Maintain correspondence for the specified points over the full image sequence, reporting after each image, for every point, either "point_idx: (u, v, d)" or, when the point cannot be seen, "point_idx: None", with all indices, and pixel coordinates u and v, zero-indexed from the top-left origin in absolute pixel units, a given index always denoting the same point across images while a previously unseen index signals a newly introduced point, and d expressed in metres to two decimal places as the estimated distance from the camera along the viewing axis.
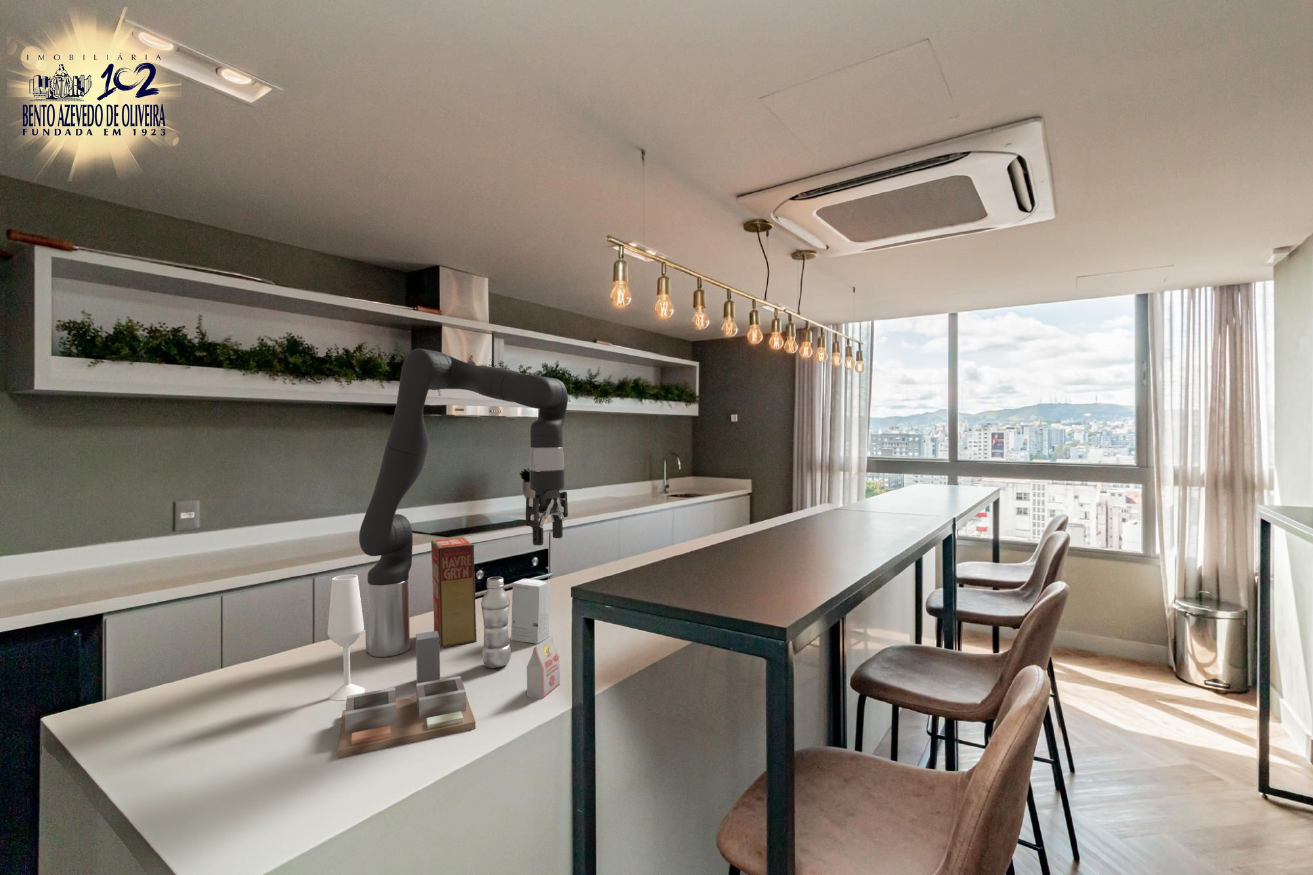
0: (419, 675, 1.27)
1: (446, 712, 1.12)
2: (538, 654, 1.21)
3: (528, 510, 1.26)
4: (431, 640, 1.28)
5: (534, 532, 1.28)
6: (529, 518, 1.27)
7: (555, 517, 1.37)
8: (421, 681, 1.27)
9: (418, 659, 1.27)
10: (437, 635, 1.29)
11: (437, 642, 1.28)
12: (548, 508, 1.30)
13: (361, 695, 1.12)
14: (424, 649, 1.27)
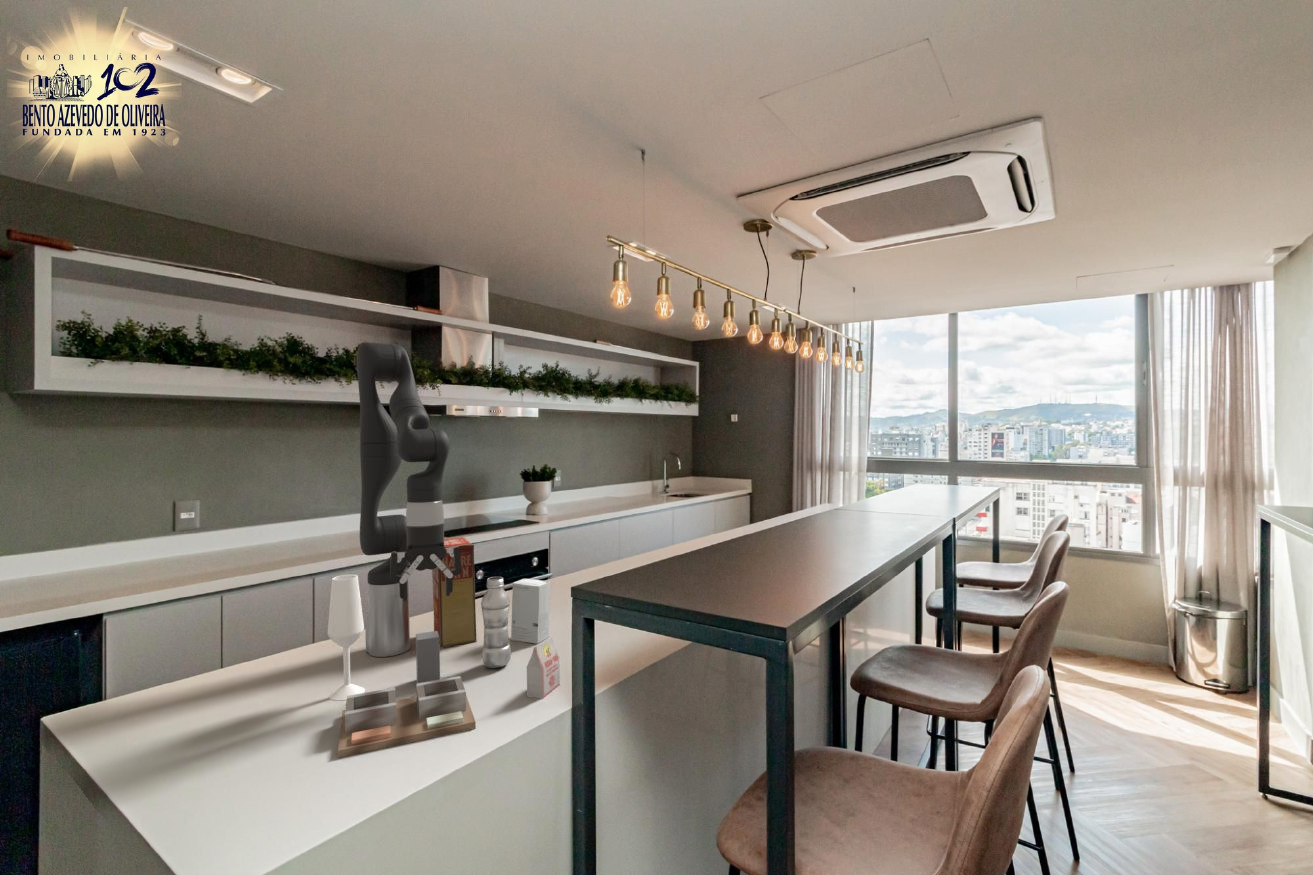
0: (419, 675, 1.27)
1: (446, 712, 1.12)
2: (538, 654, 1.21)
3: None
4: (431, 640, 1.28)
5: None
6: None
7: None
8: (421, 681, 1.27)
9: (418, 659, 1.27)
10: (437, 635, 1.29)
11: (437, 643, 1.28)
12: None
13: (361, 695, 1.12)
14: (424, 649, 1.27)
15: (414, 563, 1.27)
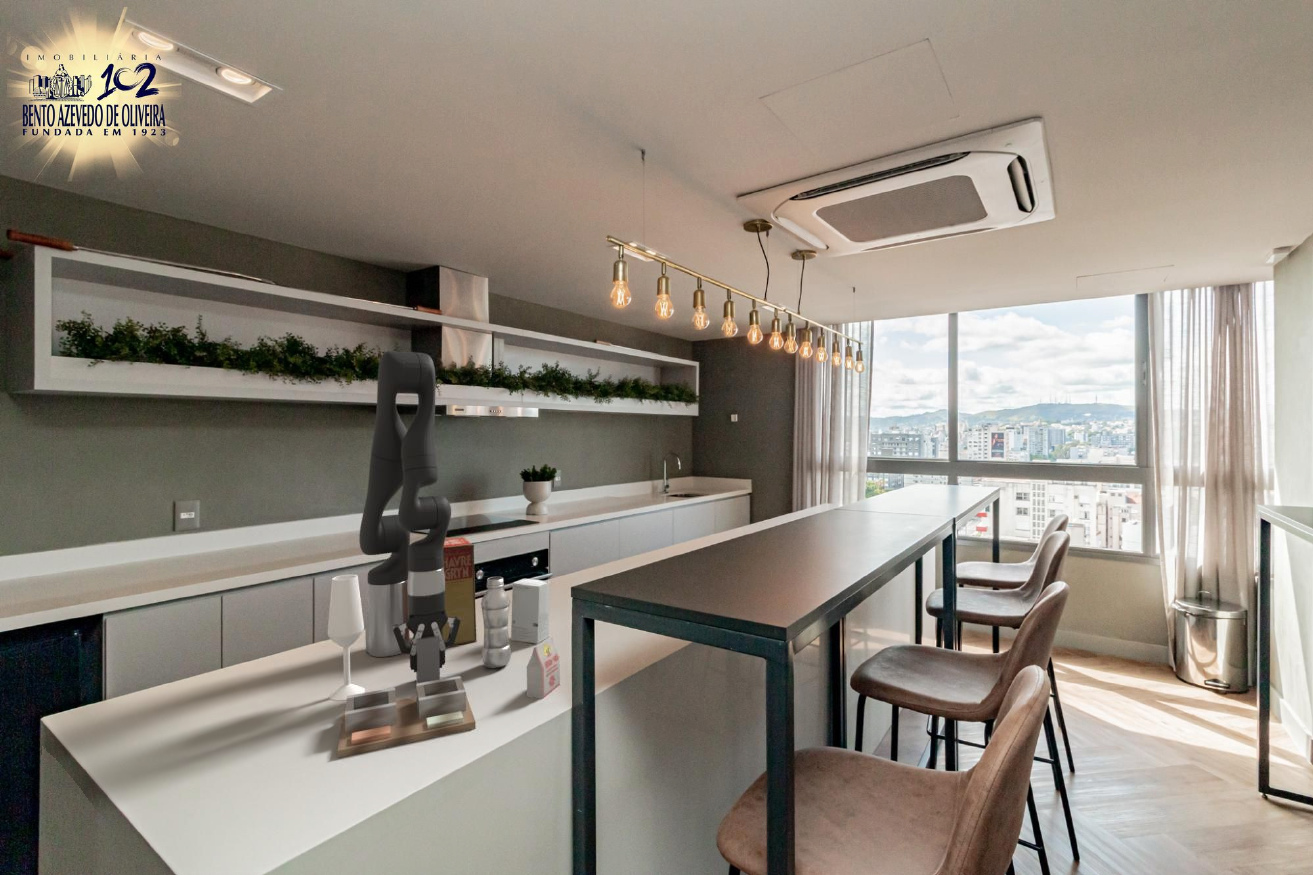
0: (419, 675, 1.27)
1: (446, 712, 1.12)
2: (538, 654, 1.21)
3: None
4: (431, 640, 1.28)
5: None
6: None
7: None
8: (421, 681, 1.27)
9: (418, 659, 1.27)
10: None
11: (437, 642, 1.28)
12: None
13: (361, 695, 1.12)
14: (424, 649, 1.27)
15: (418, 633, 1.27)
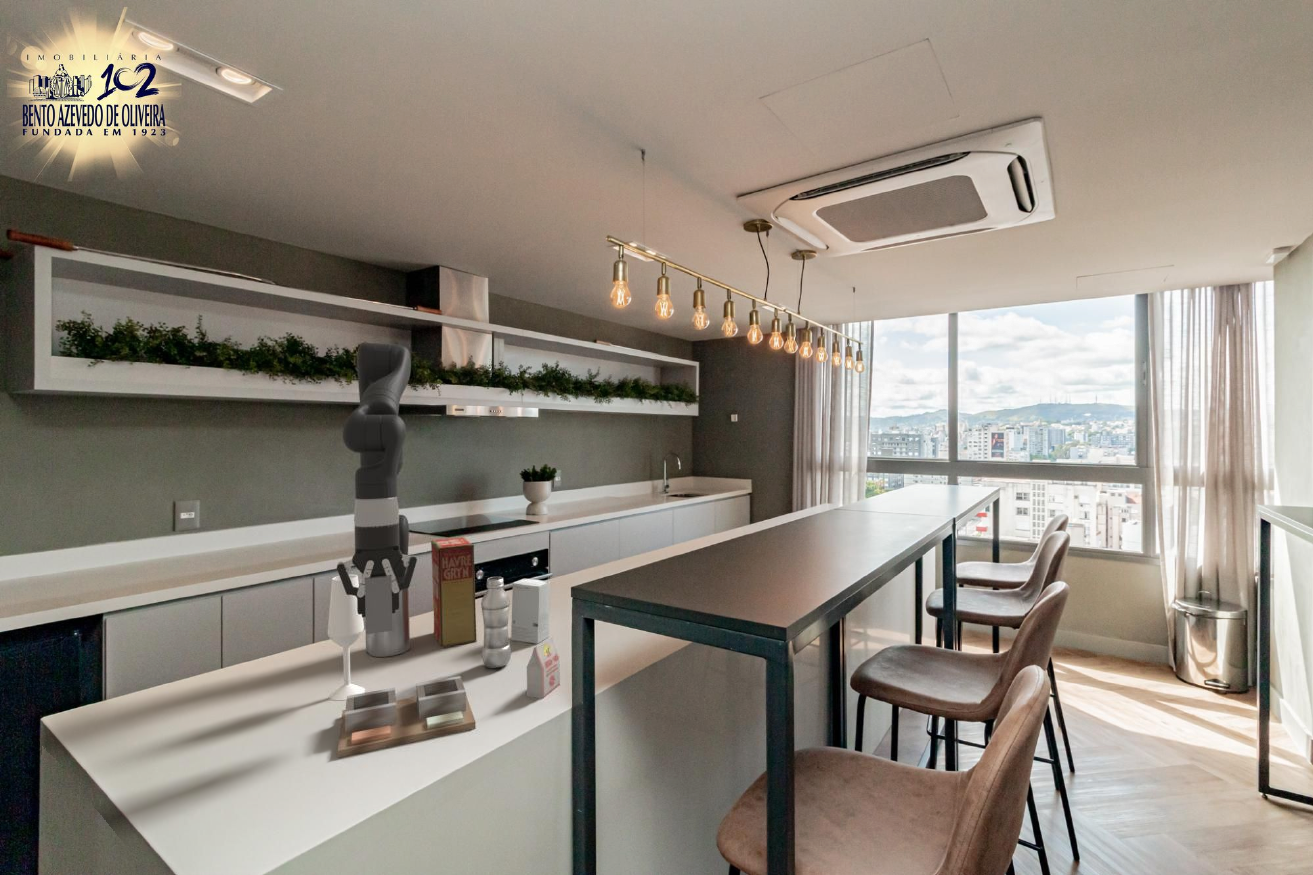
0: (367, 620, 1.09)
1: (446, 712, 1.12)
2: (538, 654, 1.21)
3: None
4: (381, 579, 1.10)
5: None
6: None
7: None
8: (370, 627, 1.09)
9: (366, 601, 1.09)
10: None
11: (389, 583, 1.11)
12: None
13: (361, 695, 1.12)
14: (373, 590, 1.09)
15: (366, 571, 1.09)
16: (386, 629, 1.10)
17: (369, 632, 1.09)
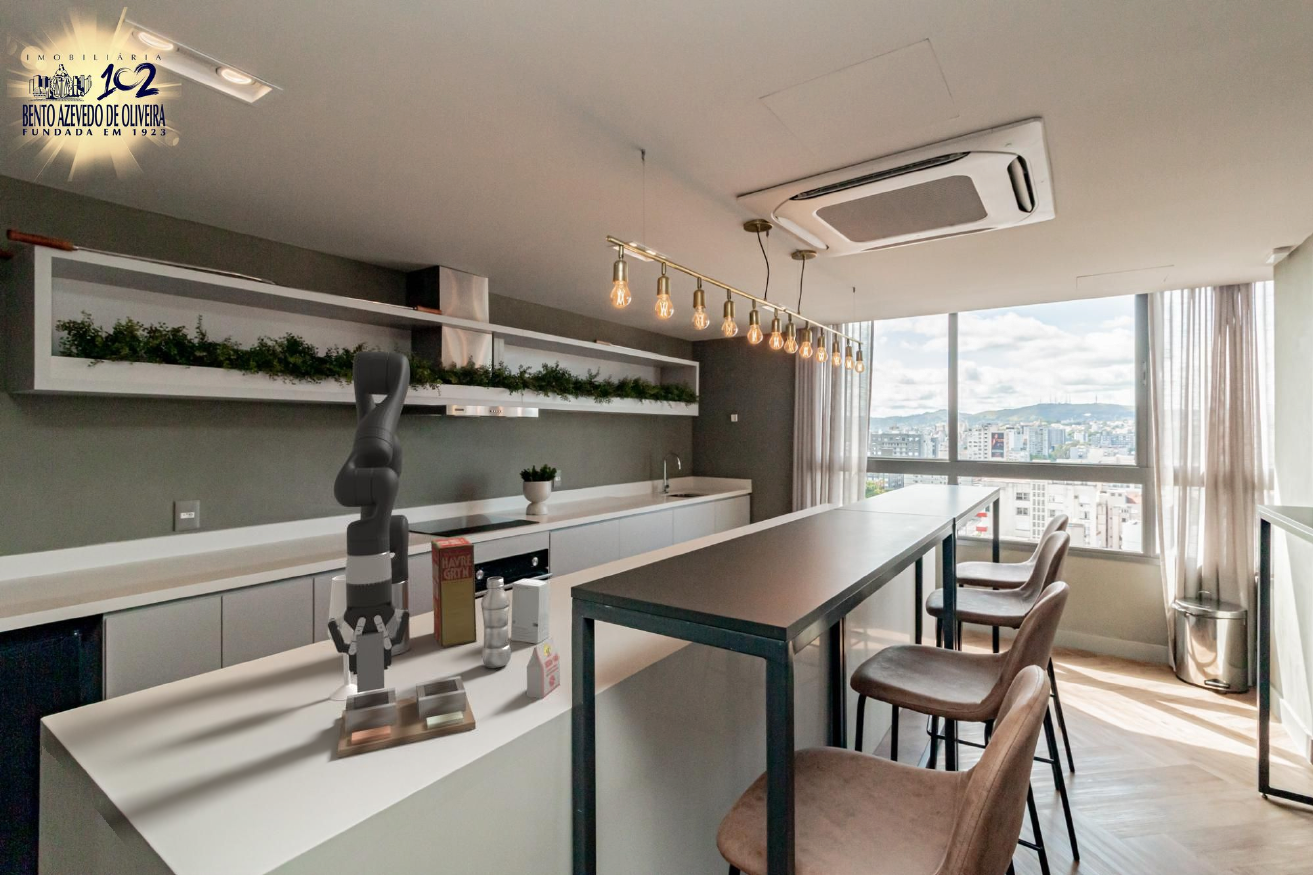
0: (359, 678, 1.07)
1: (446, 712, 1.12)
2: (538, 654, 1.21)
3: None
4: (373, 636, 1.08)
5: None
6: None
7: None
8: (361, 685, 1.07)
9: (357, 659, 1.07)
10: None
11: (381, 640, 1.09)
12: None
13: (361, 695, 1.12)
14: (365, 647, 1.08)
15: (357, 628, 1.08)
16: (378, 687, 1.08)
17: (361, 690, 1.07)
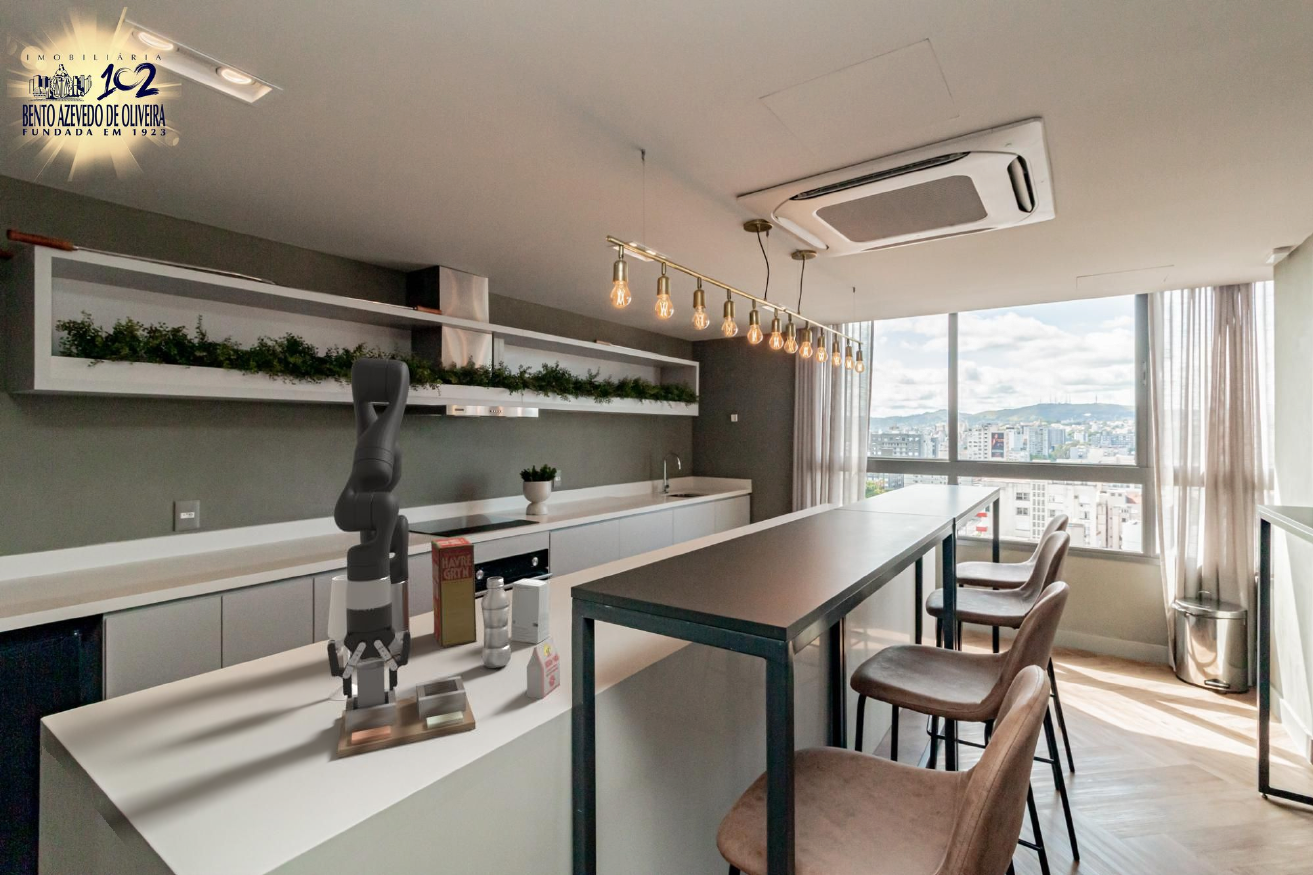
0: None
1: (446, 712, 1.12)
2: (538, 654, 1.21)
3: None
4: (374, 671, 1.08)
5: None
6: None
7: None
8: None
9: (358, 694, 1.07)
10: (381, 665, 1.10)
11: (382, 674, 1.09)
12: None
13: None
14: (366, 682, 1.08)
15: (356, 653, 1.08)
16: None
17: None
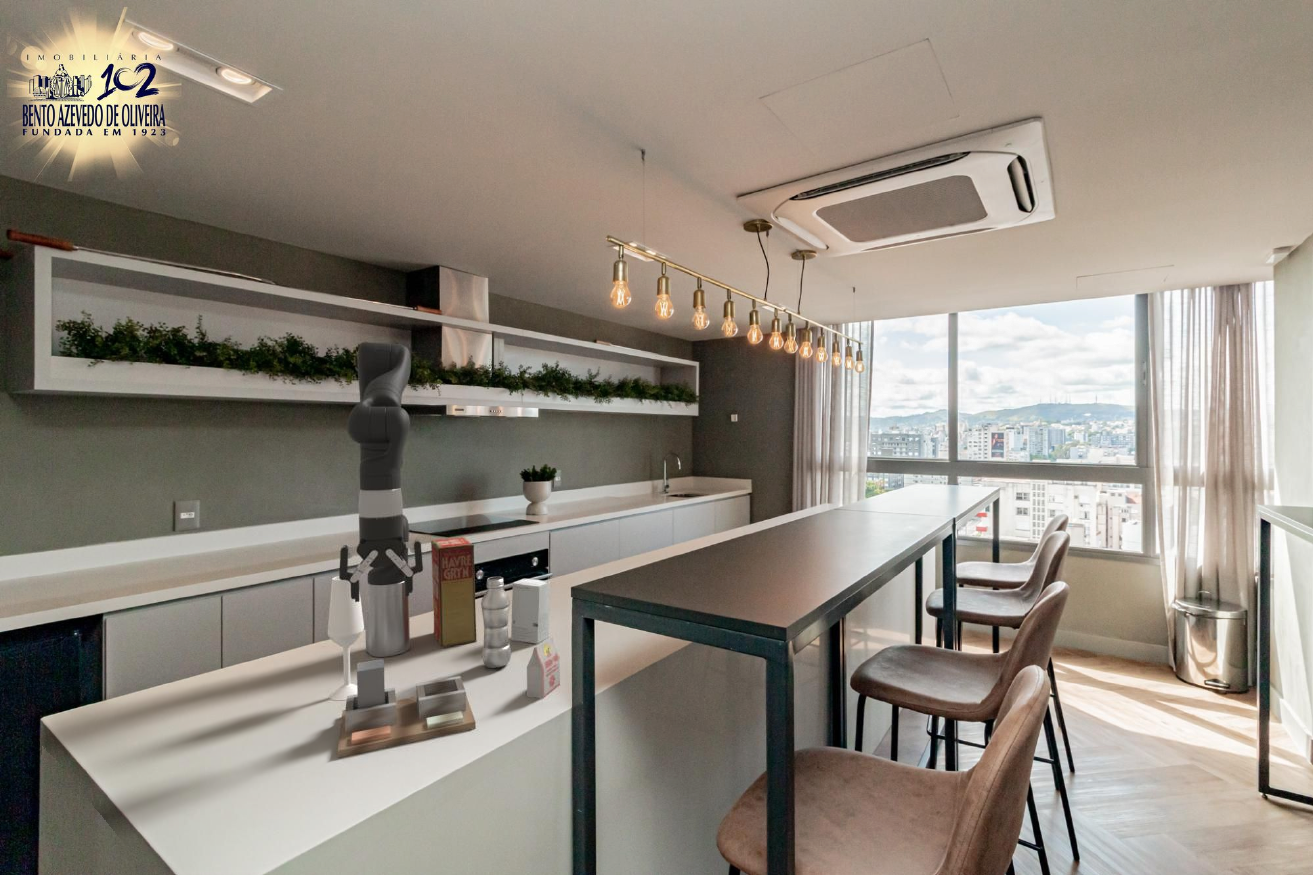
0: None
1: (446, 712, 1.12)
2: (538, 654, 1.21)
3: (421, 554, 1.16)
4: (374, 671, 1.08)
5: None
6: None
7: None
8: None
9: (358, 694, 1.07)
10: (381, 665, 1.10)
11: (382, 674, 1.09)
12: None
13: None
14: (366, 682, 1.08)
15: (367, 559, 1.11)
16: None
17: None
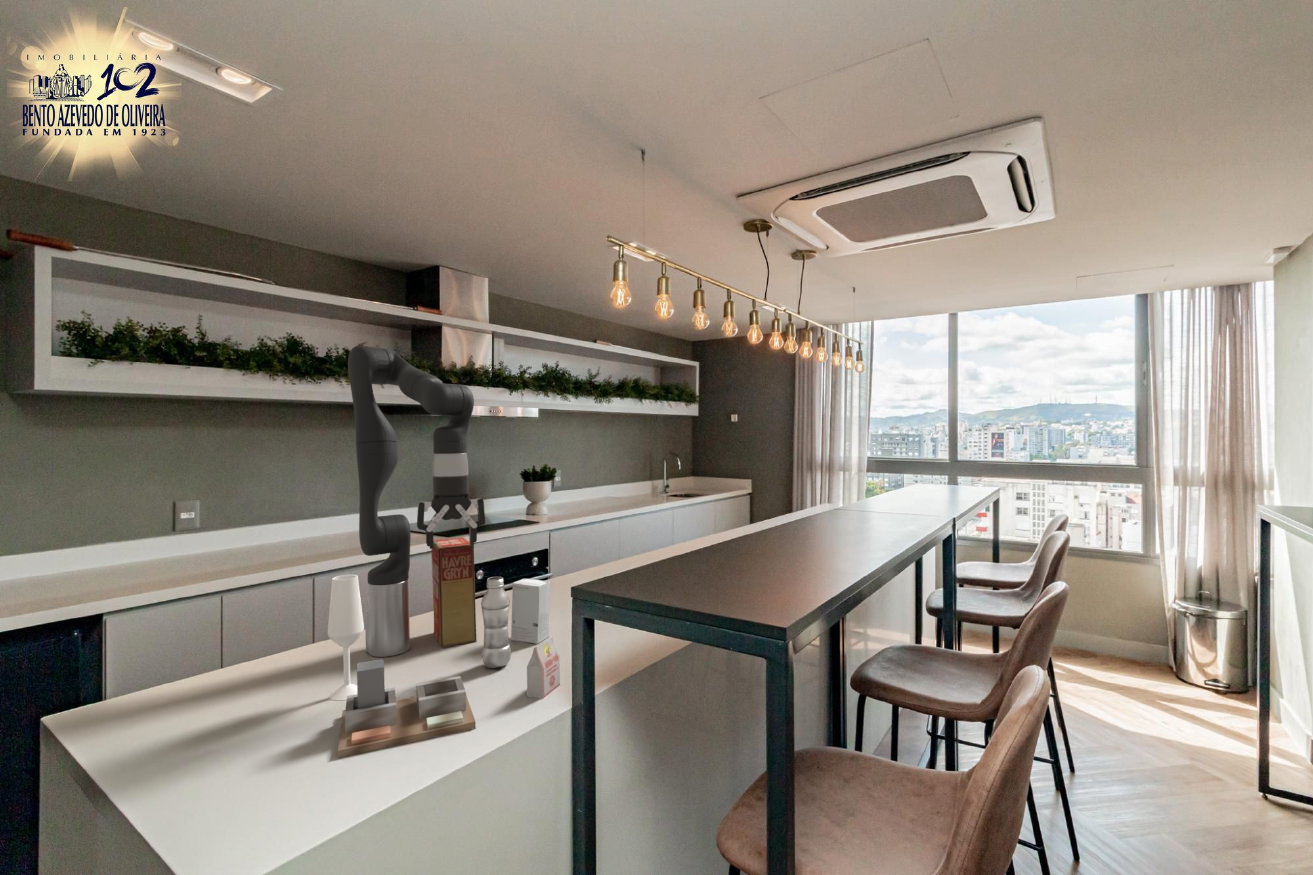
0: None
1: (446, 712, 1.12)
2: (538, 654, 1.21)
3: None
4: (374, 671, 1.08)
5: None
6: None
7: None
8: None
9: (358, 694, 1.07)
10: (381, 665, 1.10)
11: (382, 674, 1.09)
12: None
13: None
14: (366, 682, 1.08)
15: (440, 512, 1.31)
16: None
17: None
